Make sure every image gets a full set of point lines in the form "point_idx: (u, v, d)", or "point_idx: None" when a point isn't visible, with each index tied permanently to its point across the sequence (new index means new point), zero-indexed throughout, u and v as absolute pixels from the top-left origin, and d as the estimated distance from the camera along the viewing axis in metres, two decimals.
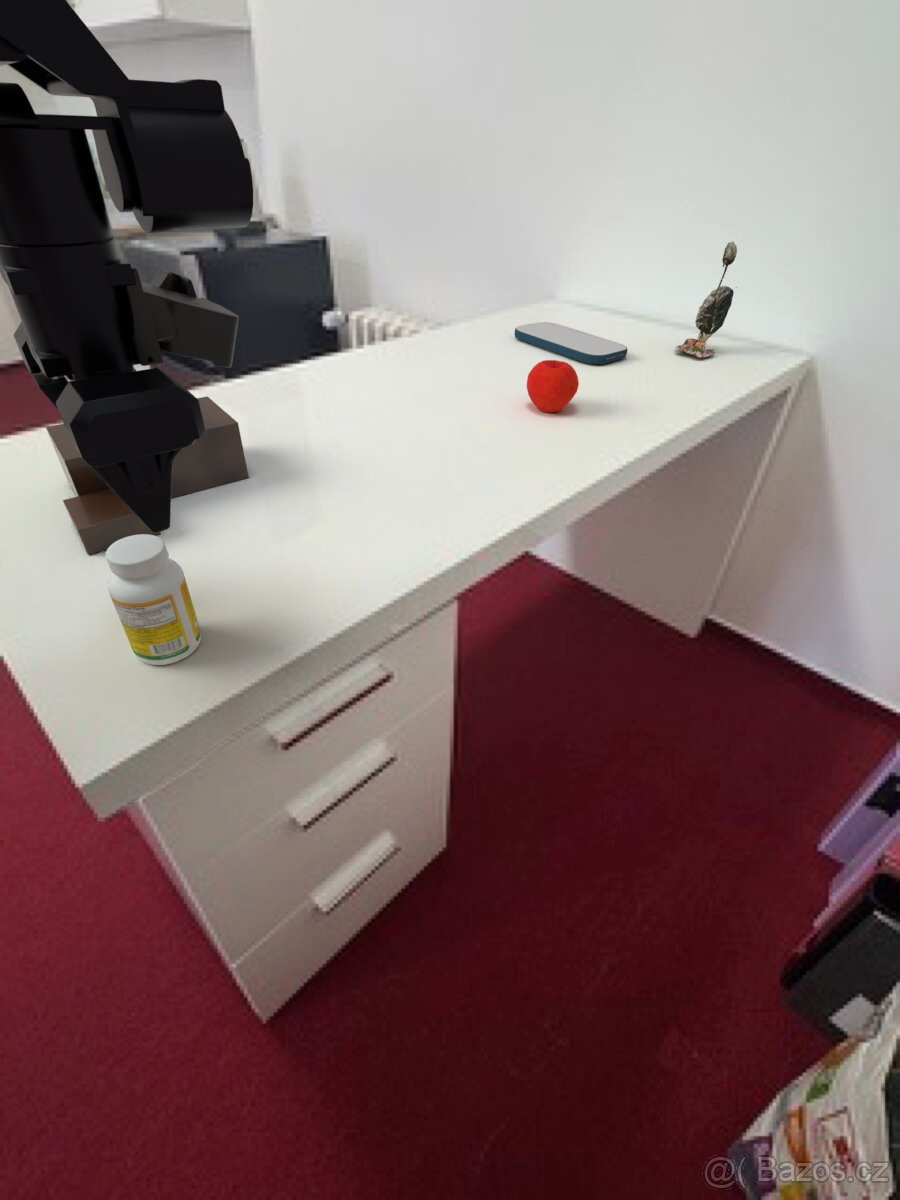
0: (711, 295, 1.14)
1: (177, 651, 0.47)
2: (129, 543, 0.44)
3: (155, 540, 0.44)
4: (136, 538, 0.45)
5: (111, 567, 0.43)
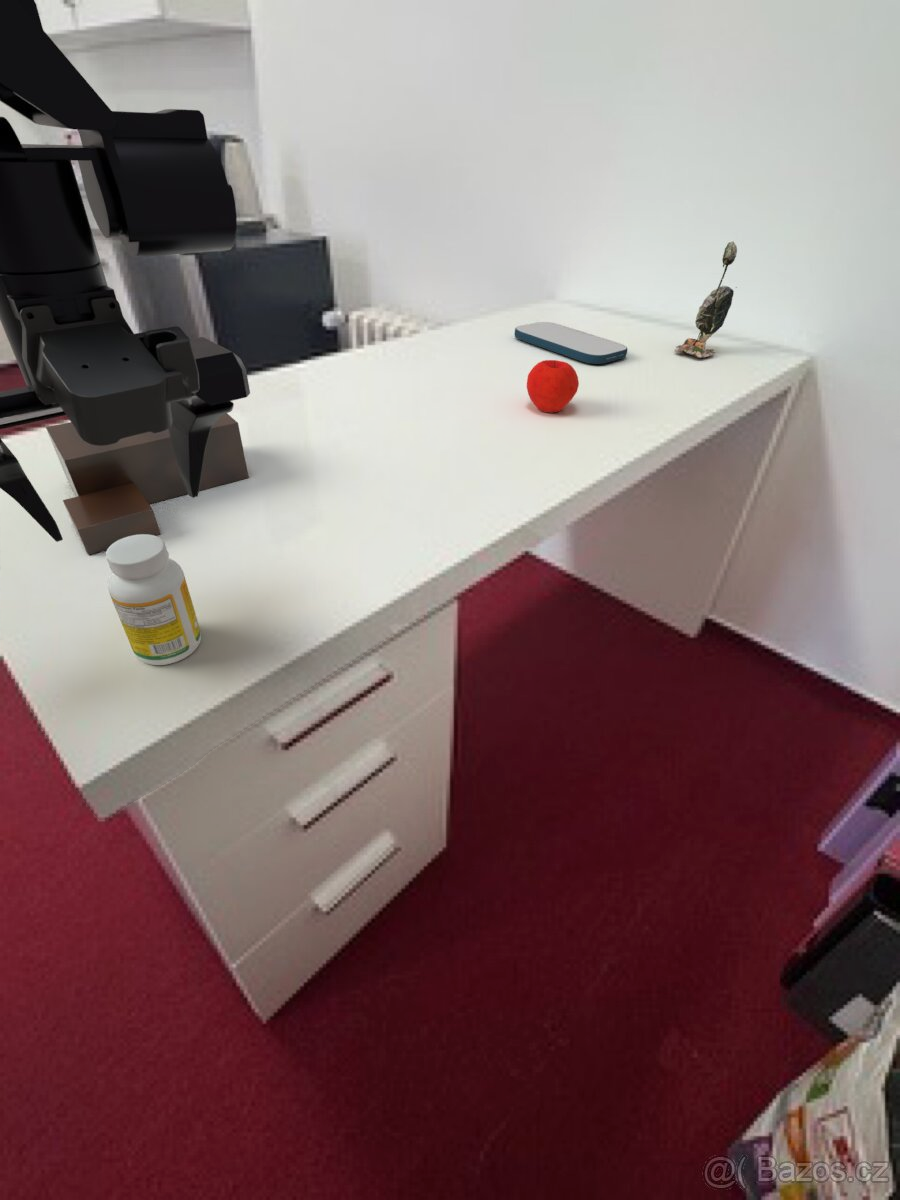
0: (711, 295, 1.14)
1: (177, 651, 0.47)
2: (129, 543, 0.44)
3: (155, 540, 0.44)
4: (136, 538, 0.45)
5: (111, 567, 0.43)
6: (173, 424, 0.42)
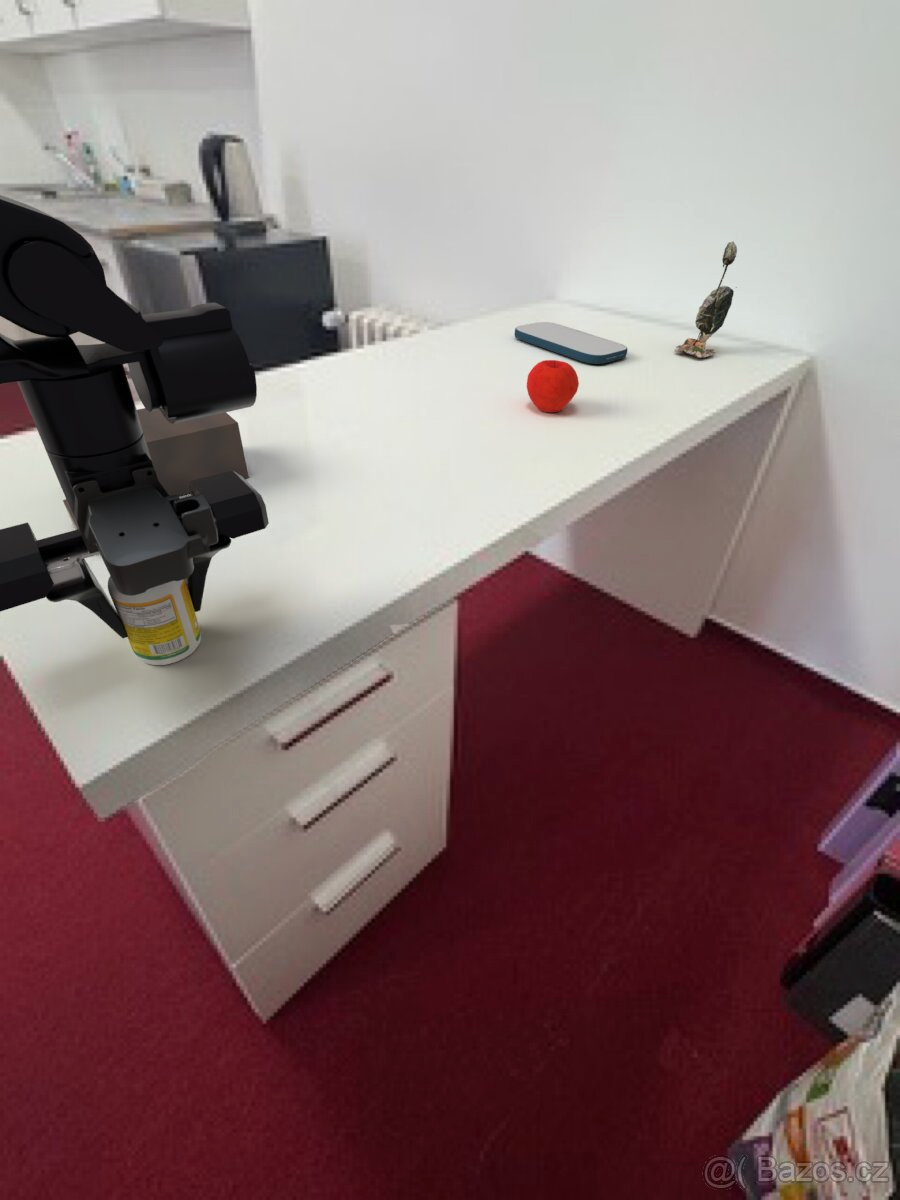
0: (711, 295, 1.14)
1: (177, 651, 0.47)
2: None
3: None
4: None
5: None
6: None
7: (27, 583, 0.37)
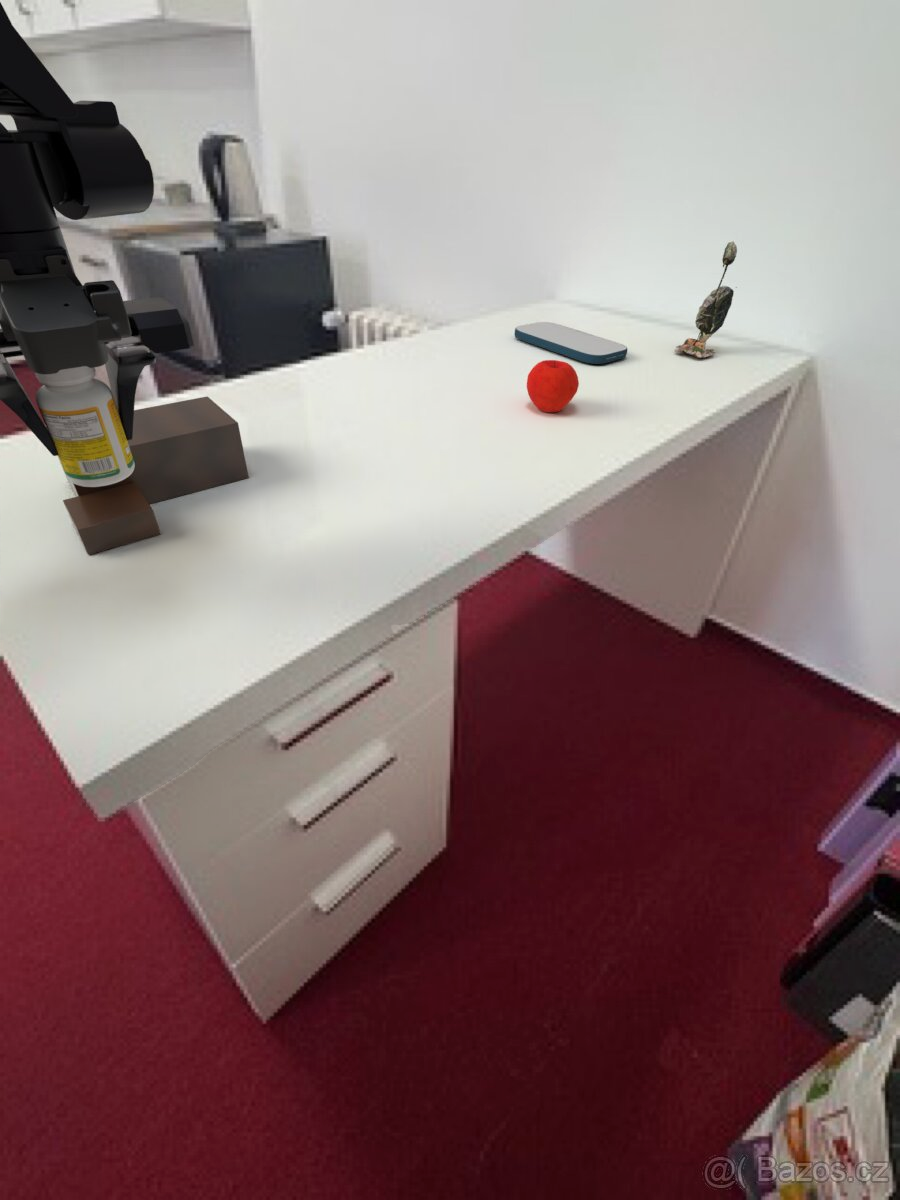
0: (711, 295, 1.14)
1: (107, 472, 0.49)
2: None
3: None
4: None
5: (36, 374, 0.44)
6: (110, 374, 0.48)
7: None
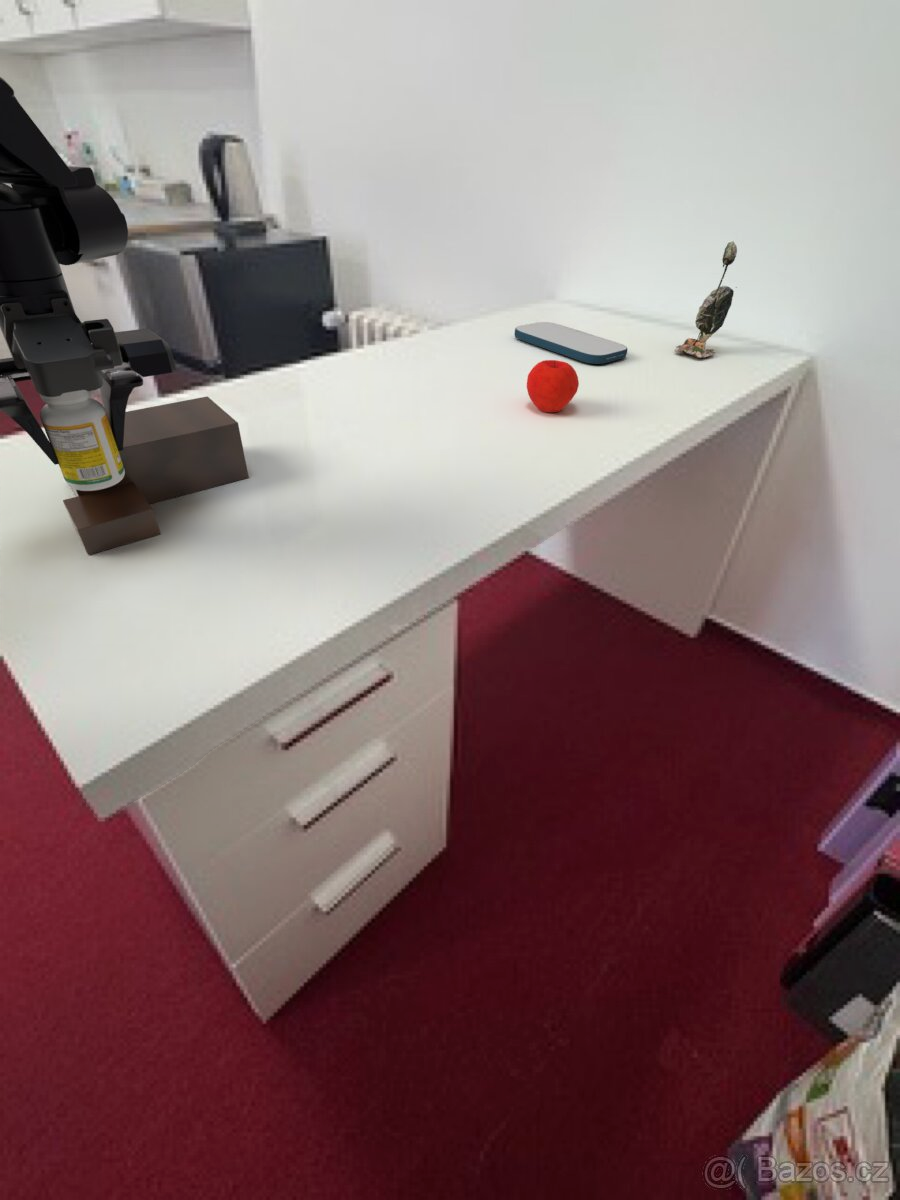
0: (711, 295, 1.14)
1: (101, 478, 0.57)
2: None
3: None
4: None
5: (41, 395, 0.52)
6: (103, 394, 0.56)
7: None
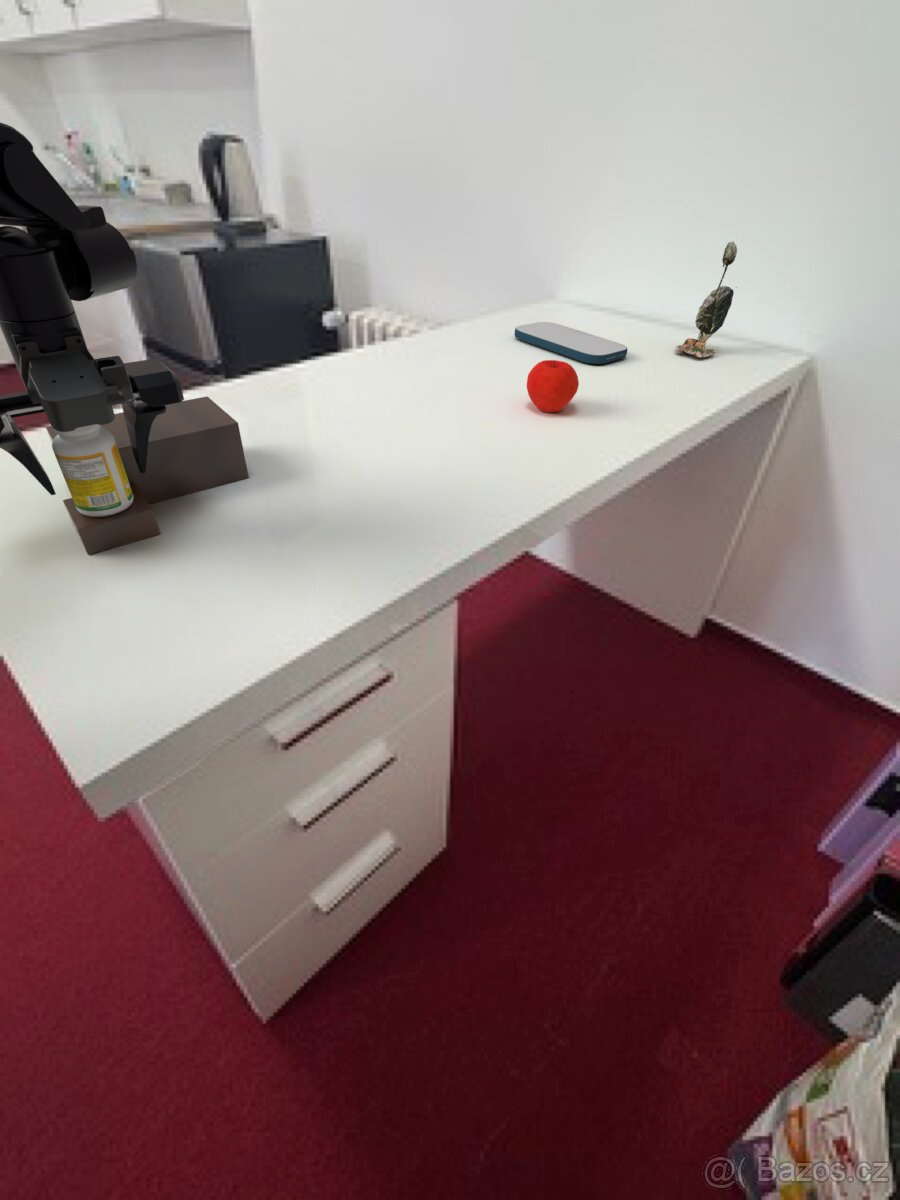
0: (711, 295, 1.14)
1: (111, 505, 0.58)
2: None
3: None
4: None
5: None
6: (127, 420, 0.59)
7: None
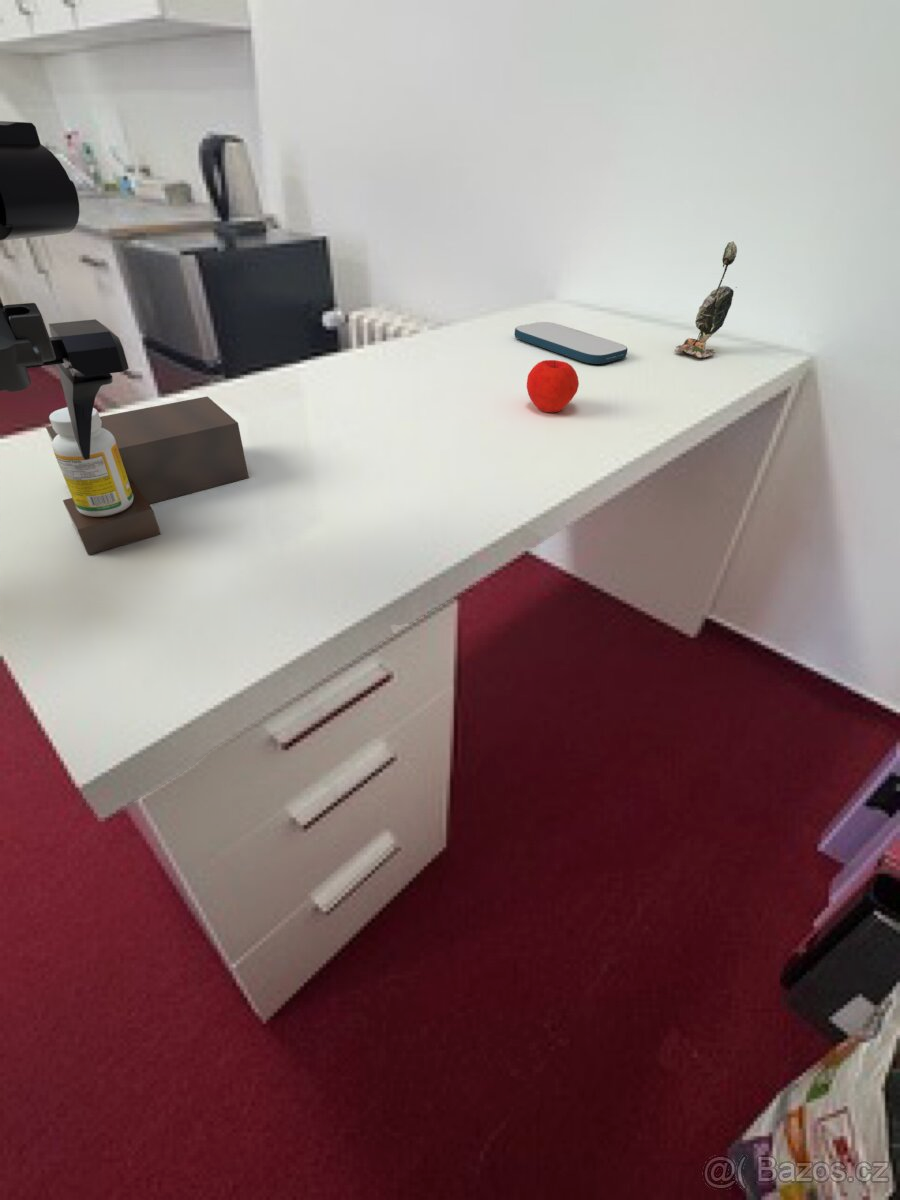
0: (711, 295, 1.14)
1: (111, 505, 0.58)
2: None
3: None
4: None
5: (53, 426, 0.54)
6: (66, 393, 0.48)
7: None
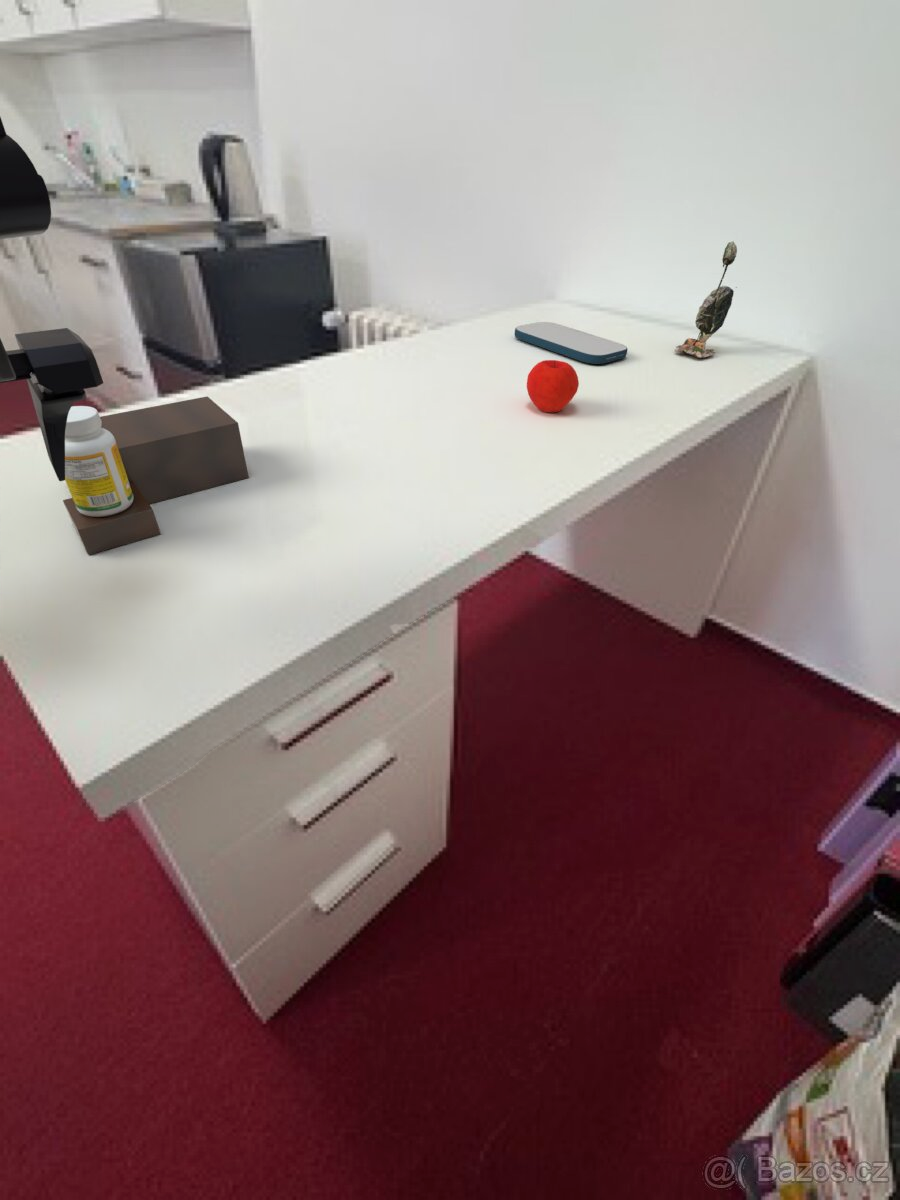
0: (711, 295, 1.14)
1: (111, 505, 0.58)
2: None
3: (90, 409, 0.56)
4: (75, 407, 0.56)
5: None
6: (37, 410, 0.44)
7: None
